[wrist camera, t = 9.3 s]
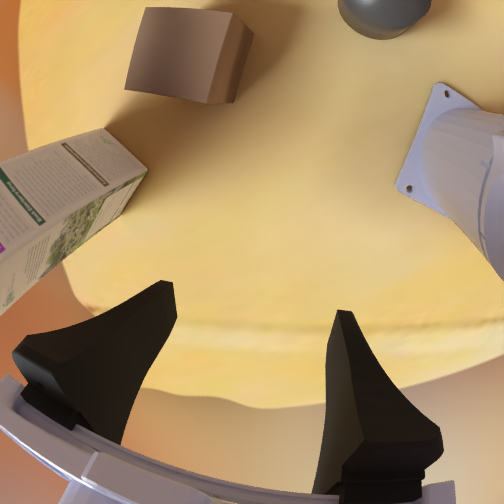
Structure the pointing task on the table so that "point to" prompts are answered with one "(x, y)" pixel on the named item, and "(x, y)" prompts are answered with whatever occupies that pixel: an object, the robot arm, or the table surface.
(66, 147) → the syrup box
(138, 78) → the walnut block
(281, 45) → the table surface
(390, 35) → the charcoal cylinder
